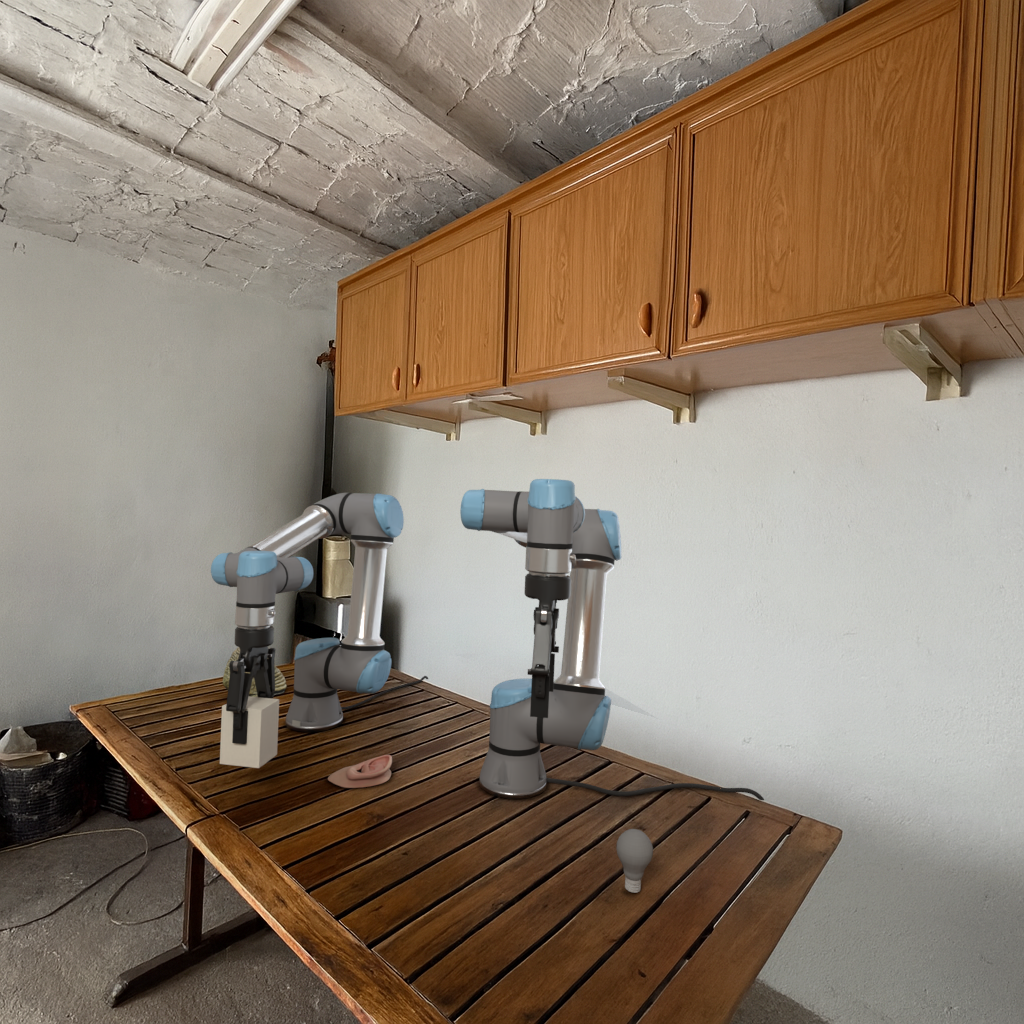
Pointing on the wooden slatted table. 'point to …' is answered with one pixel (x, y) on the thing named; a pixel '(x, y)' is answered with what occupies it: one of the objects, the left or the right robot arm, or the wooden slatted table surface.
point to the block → (251, 734)
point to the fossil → (279, 678)
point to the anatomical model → (364, 773)
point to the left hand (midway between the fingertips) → (250, 735)
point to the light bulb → (634, 857)
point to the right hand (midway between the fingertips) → (542, 703)
